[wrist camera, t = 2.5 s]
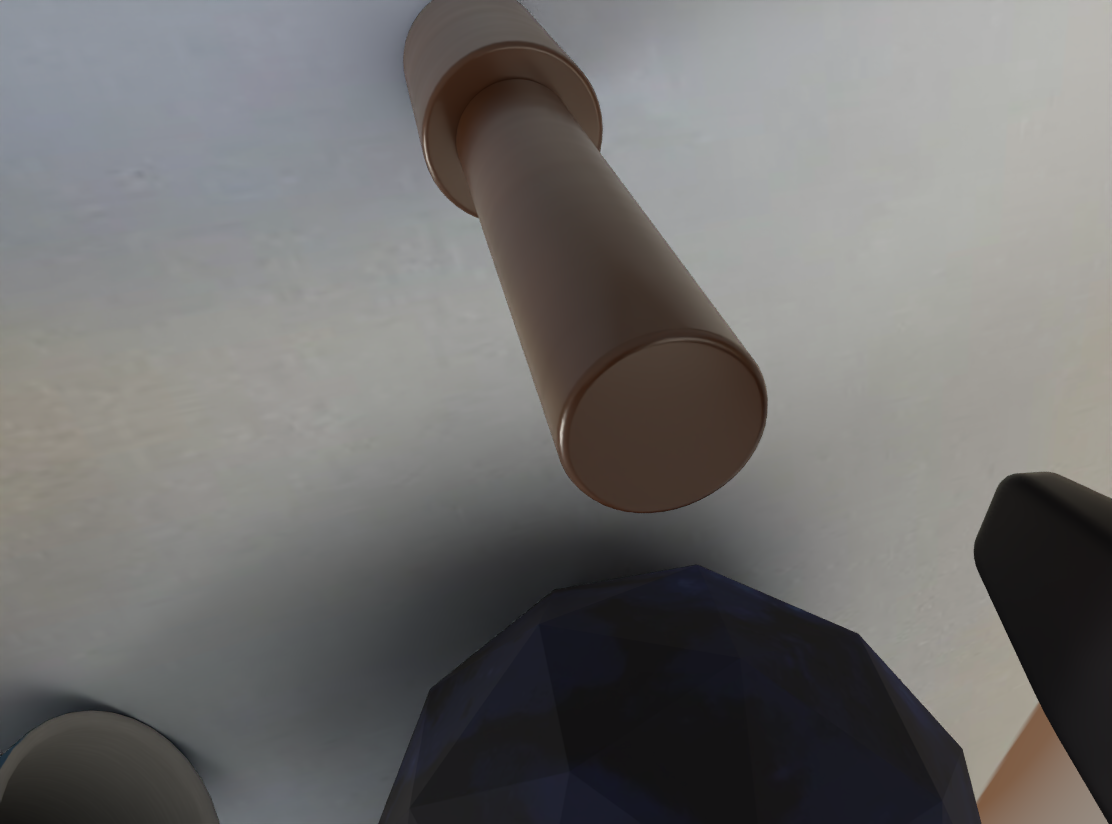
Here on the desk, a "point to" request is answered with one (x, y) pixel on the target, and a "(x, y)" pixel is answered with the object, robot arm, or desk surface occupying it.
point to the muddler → (581, 264)
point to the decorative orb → (677, 719)
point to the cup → (100, 775)
